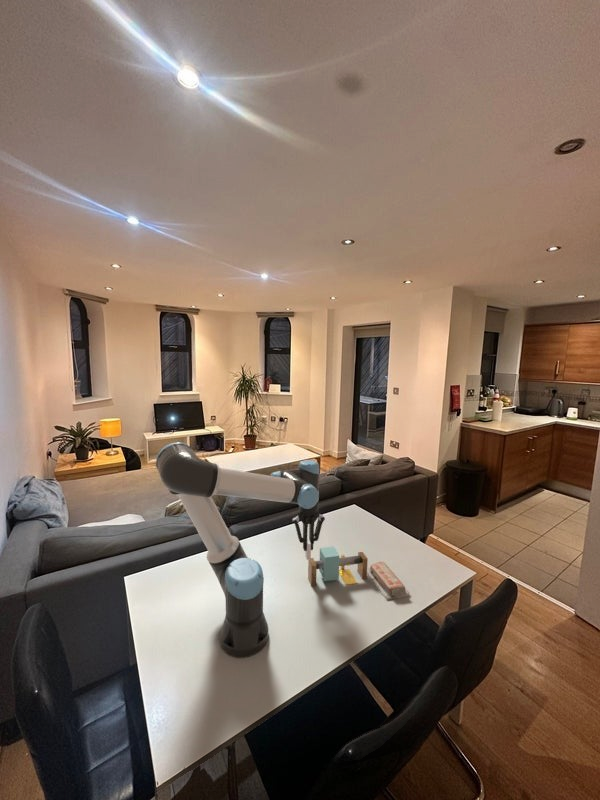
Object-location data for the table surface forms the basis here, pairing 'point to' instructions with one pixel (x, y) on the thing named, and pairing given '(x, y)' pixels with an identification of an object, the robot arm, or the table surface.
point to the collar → (329, 563)
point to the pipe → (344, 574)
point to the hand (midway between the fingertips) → (307, 557)
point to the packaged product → (386, 581)
